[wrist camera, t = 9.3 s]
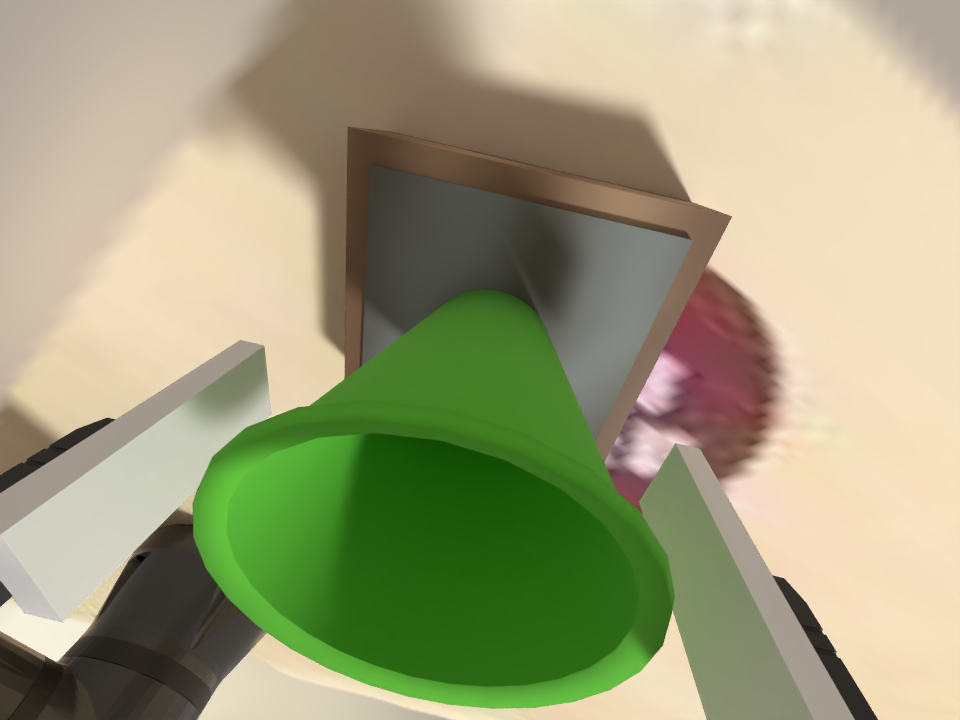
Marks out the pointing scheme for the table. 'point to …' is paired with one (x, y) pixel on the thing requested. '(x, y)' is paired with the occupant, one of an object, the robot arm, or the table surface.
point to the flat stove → (521, 259)
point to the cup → (442, 523)
